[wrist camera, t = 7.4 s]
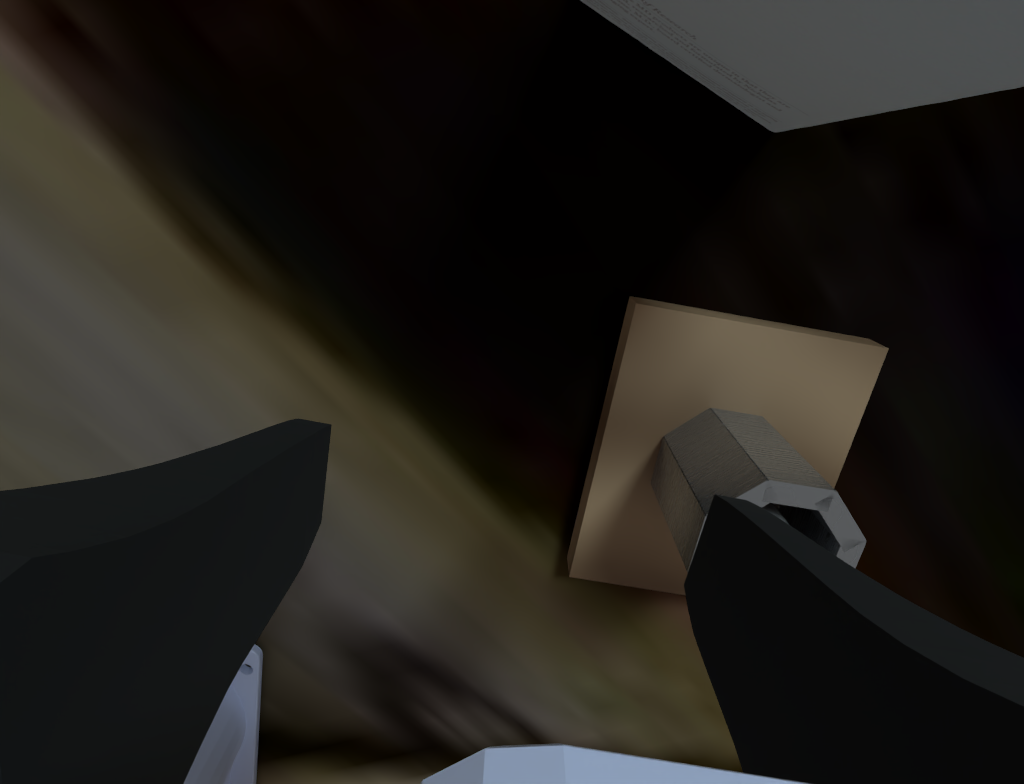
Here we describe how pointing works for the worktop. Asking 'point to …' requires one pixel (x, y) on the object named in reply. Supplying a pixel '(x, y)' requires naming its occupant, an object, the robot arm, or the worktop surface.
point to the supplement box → (831, 52)
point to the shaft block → (688, 392)
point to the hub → (746, 482)
